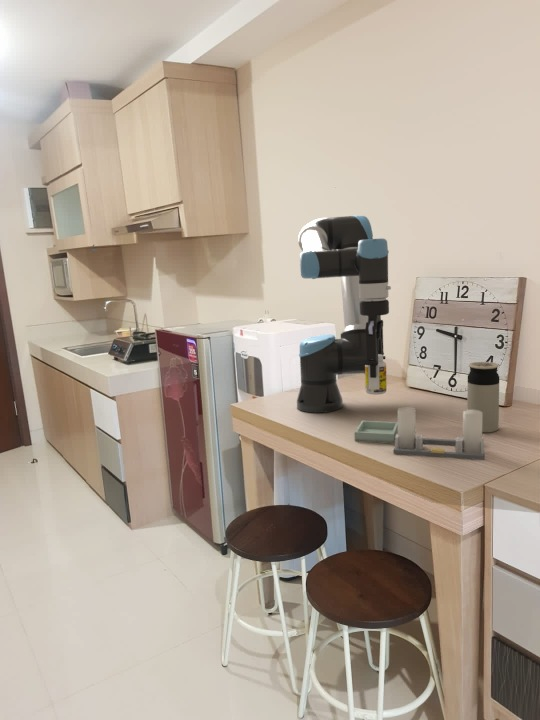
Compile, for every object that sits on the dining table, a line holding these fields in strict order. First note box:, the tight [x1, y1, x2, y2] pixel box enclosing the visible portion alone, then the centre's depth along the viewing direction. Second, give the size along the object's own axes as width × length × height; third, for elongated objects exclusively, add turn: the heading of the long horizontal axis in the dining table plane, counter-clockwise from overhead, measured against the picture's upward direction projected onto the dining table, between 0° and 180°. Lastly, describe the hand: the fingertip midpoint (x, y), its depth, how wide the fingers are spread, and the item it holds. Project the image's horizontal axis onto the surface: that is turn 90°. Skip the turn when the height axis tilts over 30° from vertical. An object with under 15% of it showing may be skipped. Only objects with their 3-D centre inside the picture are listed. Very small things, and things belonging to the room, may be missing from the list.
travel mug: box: [466, 361, 500, 434], centre depth 148 cm, size 8×8×18 cm
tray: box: [354, 420, 398, 444], centre depth 148 cm, size 10×10×2 cm
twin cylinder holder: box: [392, 406, 485, 461], centre depth 135 cm, size 21×10×10 cm, turn 70°
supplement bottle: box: [364, 354, 387, 396], centre depth 145 cm, size 6×6×10 cm
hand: (376, 386), depth 146 cm, fingers closed on supplement bottle, 6 cm apart
